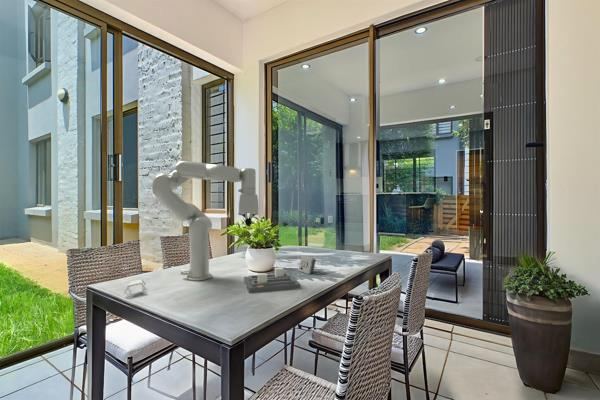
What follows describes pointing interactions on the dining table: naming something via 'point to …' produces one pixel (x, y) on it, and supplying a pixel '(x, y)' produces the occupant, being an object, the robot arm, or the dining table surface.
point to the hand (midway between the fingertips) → (248, 226)
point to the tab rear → (279, 271)
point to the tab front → (262, 278)
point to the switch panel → (271, 283)
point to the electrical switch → (306, 264)
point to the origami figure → (136, 284)
